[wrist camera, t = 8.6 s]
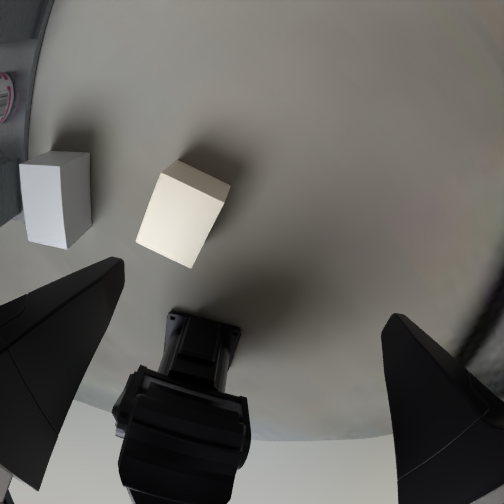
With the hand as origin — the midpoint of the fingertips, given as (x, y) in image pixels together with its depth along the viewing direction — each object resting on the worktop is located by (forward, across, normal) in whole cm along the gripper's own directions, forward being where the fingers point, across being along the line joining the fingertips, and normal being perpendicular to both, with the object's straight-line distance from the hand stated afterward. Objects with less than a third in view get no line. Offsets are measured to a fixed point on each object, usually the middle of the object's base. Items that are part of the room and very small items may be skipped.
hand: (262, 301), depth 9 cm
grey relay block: (+12, +15, +3) cm, 19 cm away
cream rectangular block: (+12, +5, +2) cm, 13 cm away
